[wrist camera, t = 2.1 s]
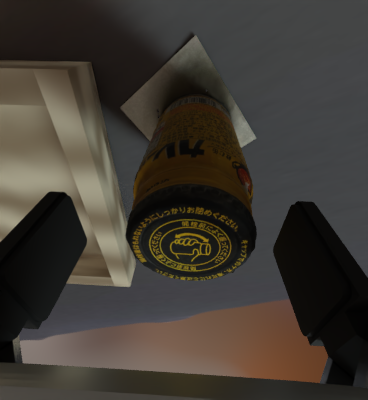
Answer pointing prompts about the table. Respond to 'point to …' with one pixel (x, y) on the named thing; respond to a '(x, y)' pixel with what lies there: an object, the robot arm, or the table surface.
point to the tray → (62, 161)
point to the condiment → (191, 172)
